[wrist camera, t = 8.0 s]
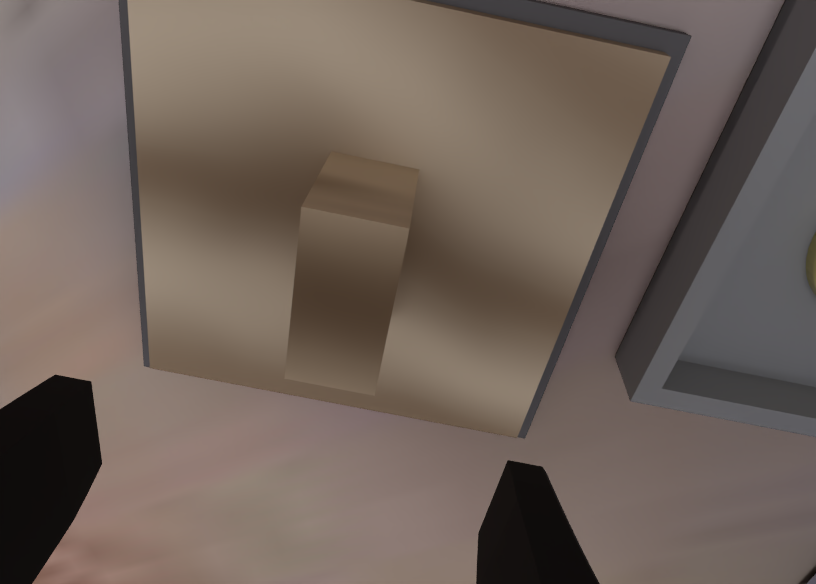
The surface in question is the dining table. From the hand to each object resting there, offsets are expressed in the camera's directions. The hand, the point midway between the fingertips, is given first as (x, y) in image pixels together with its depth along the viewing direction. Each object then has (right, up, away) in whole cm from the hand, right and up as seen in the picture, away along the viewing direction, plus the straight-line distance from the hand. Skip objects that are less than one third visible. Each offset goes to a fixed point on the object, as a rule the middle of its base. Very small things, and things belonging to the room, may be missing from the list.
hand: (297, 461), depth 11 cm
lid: (+1, +5, +7) cm, 9 cm away
